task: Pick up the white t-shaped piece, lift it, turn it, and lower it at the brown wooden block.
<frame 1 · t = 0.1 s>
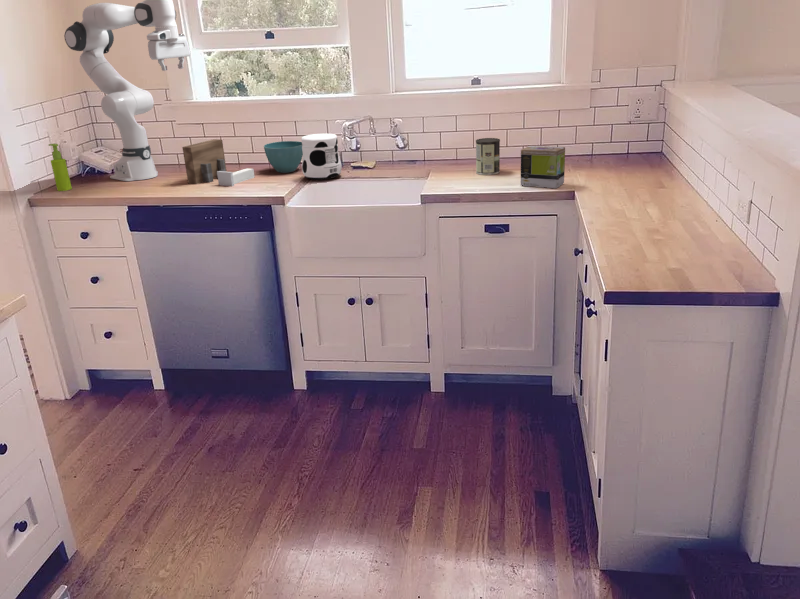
hand: (173, 69, 295), 48 cm above the countertop, fingers open, 8 cm apart
brown wooden block: (208, 178, 317), on the countertop
white t-shaped piece: (239, 181, 310), on the countertop
teal bowl: (286, 171, 326), on the countertop
soap dispenser: (64, 189, 310), on the countertop
milk container: (322, 178, 309), on the countertop
coffee can: (487, 173, 303), on the countertop
tea box: (542, 185, 278), on the countertop
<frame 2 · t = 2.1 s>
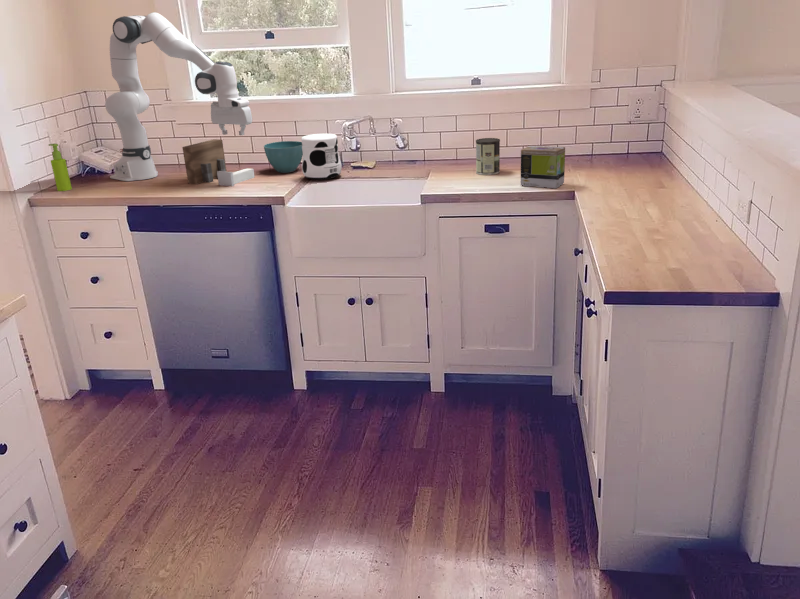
hand: (233, 134, 302), 20 cm above the countertop, fingers open, 8 cm apart
nothing on the countertop moved.
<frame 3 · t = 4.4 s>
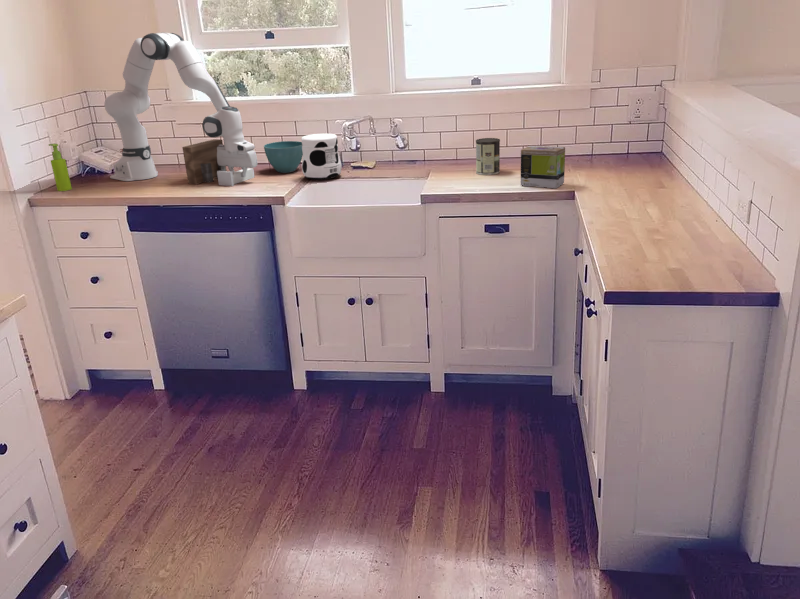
hand: (238, 176, 309), 2 cm above the countertop, fingers closed on white t-shaped piece, 4 cm apart
white t-shaped piece: (239, 180, 310), on the countertop, touching gripper
everything else where it was.
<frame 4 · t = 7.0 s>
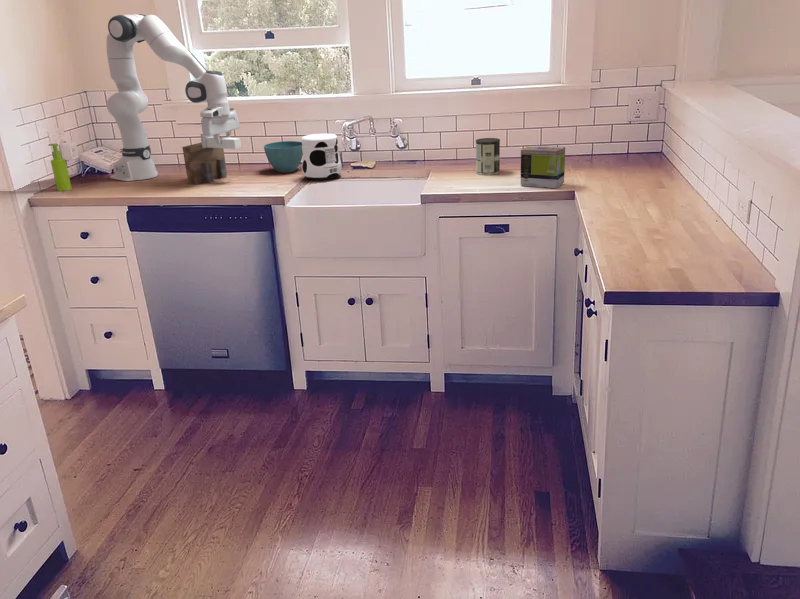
hand: (223, 143, 305), 17 cm above the countertop, fingers closed on white t-shaped piece, 4 cm apart
white t-shaped piece: (224, 147, 306), point 15 cm above the countertop, touching gripper
everything else where it was.
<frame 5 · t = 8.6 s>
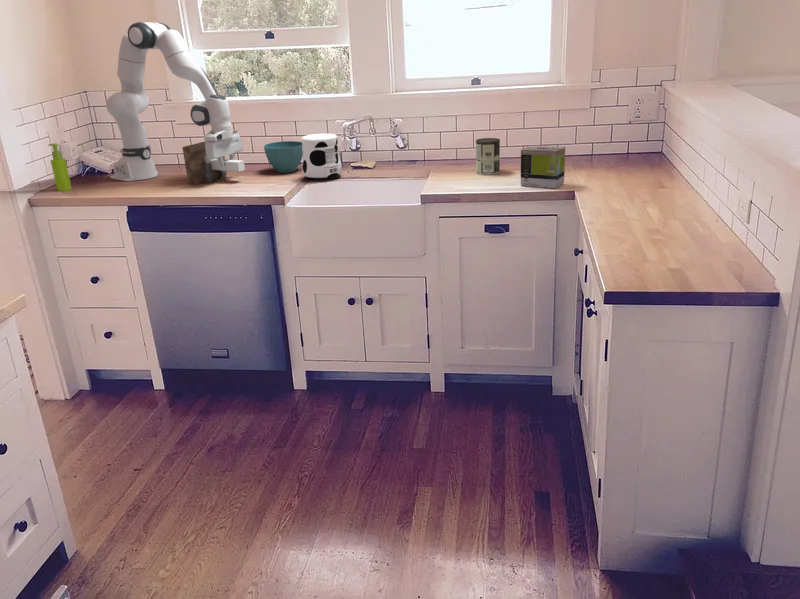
hand: (227, 165, 309), 7 cm above the countertop, fingers closed on white t-shaped piece, 4 cm apart
white t-shaped piece: (228, 169, 310), point 5 cm above the countertop, touching gripper
everything else where it was.
when the fingers open (3 cm above the countertop, at t = 9.7 s): white t-shaped piece drops 2 cm, on the countertop.
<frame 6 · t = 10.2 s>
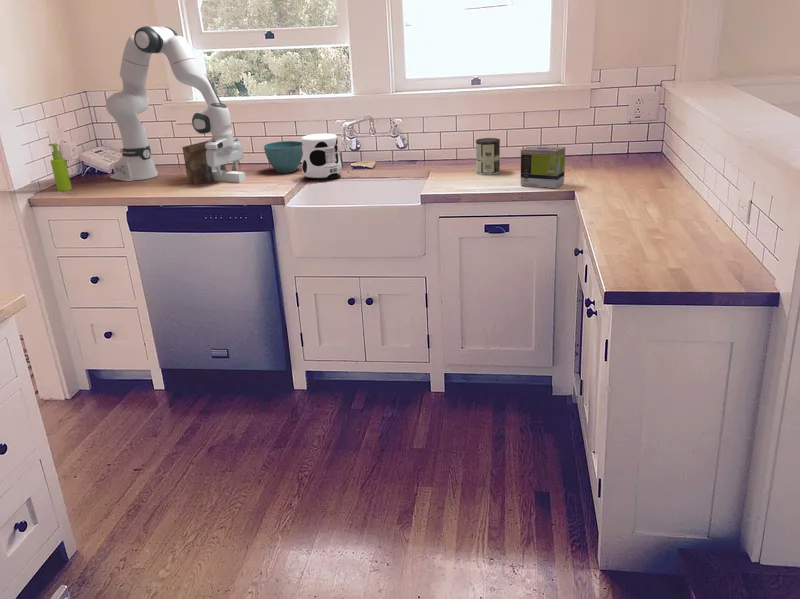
hand: (227, 173, 310), 3 cm above the countertop, fingers open, 8 cm apart
white t-shaped piece: (228, 180, 312), on the countertop
everything else where it was.
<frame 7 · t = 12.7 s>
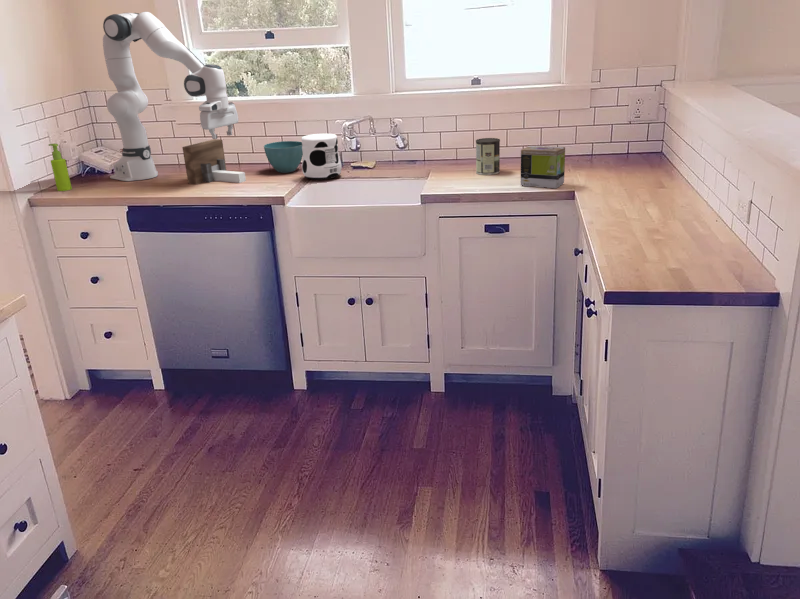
hand: (222, 137, 305), 19 cm above the countertop, fingers open, 8 cm apart
nothing on the countertop moved.
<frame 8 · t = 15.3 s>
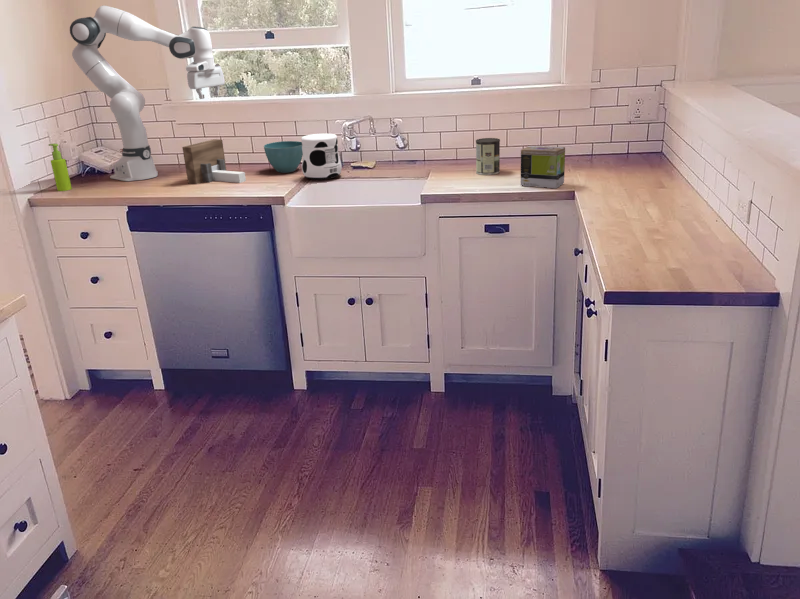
hand: (209, 97, 317), 34 cm above the countertop, fingers open, 8 cm apart
nothing on the countertop moved.
at the end: white t-shaped piece 0.1 cm from the target spot on the countertop beside the brown wooden block, on the countertop; white t-shaped piece tilted 0°; the gripper is holding nothing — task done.
